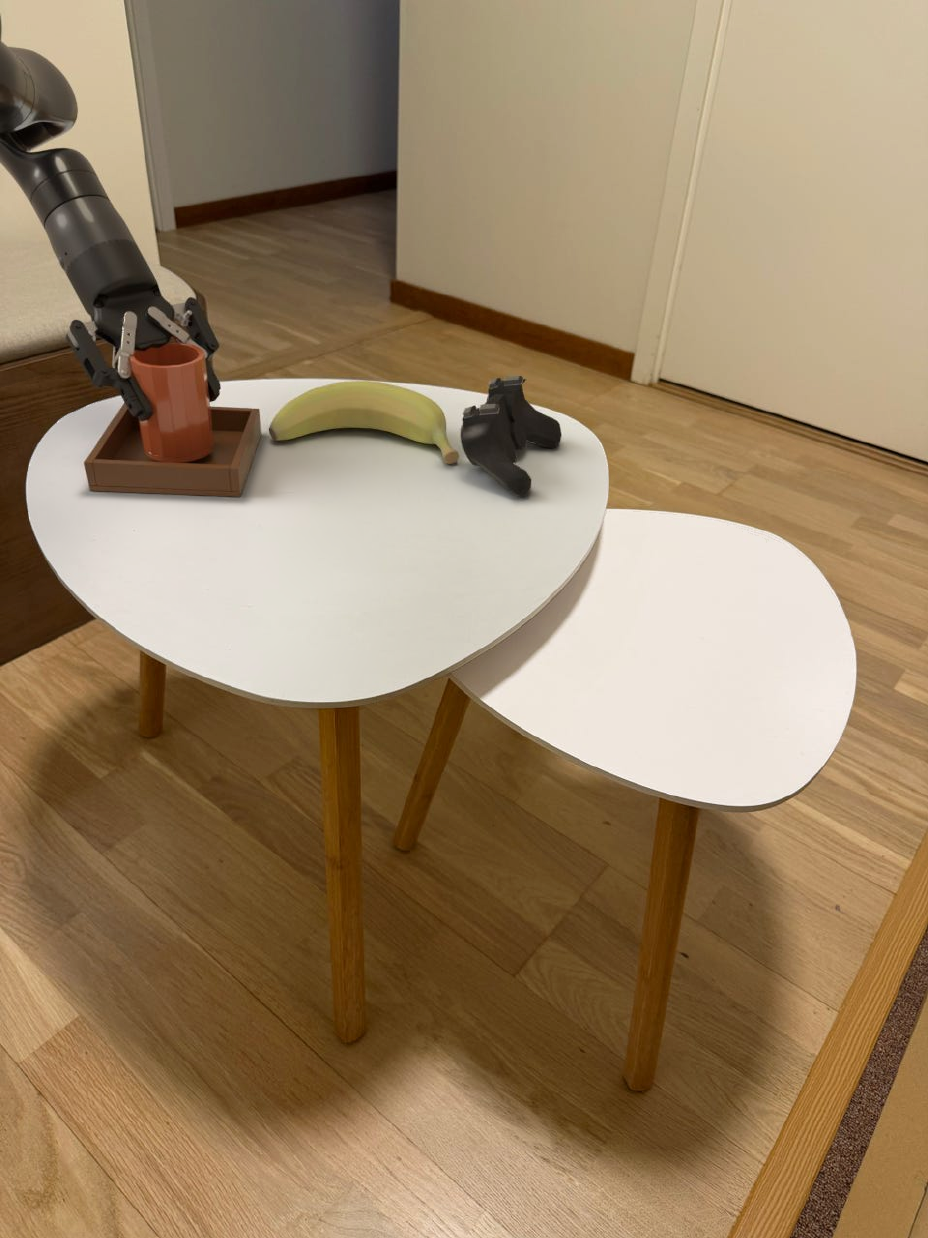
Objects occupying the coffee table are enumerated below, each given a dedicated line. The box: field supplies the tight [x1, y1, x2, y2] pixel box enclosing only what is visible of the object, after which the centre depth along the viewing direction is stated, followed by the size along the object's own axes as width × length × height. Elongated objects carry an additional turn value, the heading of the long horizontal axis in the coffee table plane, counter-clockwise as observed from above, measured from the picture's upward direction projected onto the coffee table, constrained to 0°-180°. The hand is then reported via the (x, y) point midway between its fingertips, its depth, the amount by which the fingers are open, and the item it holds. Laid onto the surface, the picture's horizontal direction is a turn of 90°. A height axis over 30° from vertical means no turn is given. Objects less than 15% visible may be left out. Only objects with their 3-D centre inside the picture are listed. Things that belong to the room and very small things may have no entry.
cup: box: [129, 341, 214, 463], centre depth 90 cm, size 7×7×10 cm
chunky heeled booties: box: [460, 375, 562, 498], centre depth 97 cm, size 16×7×10 cm, turn 161°
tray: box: [83, 401, 262, 498], centre depth 93 cm, size 15×15×3 cm
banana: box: [268, 380, 460, 465], centre depth 99 cm, size 14×6×20 cm
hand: (181, 407), depth 89 cm, fingers closed on cup, 7 cm apart
